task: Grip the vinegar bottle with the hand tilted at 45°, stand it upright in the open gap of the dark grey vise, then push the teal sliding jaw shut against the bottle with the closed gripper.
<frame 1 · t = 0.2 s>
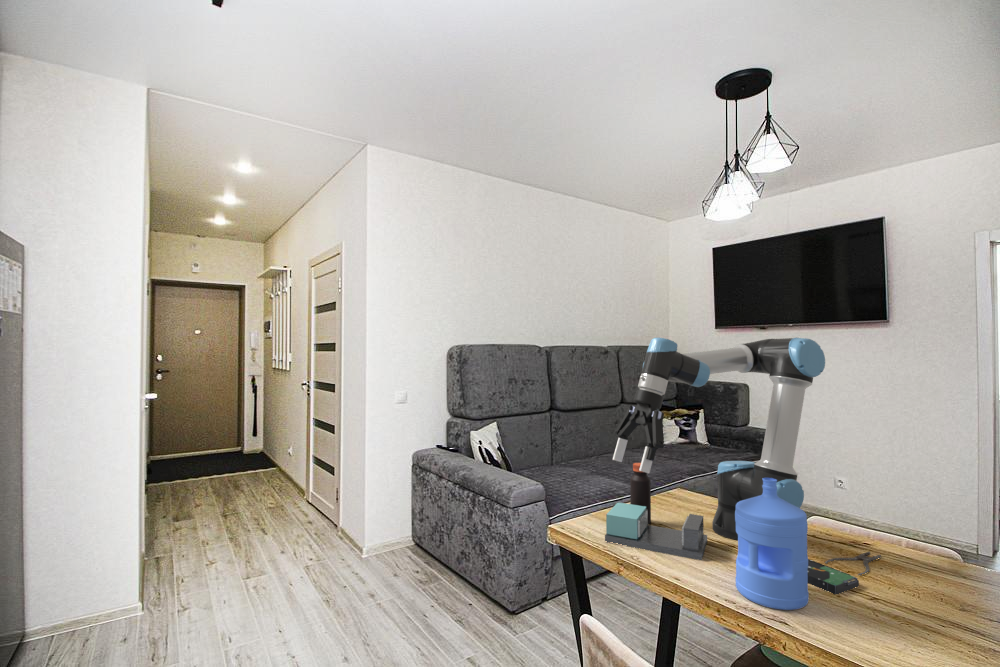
hand: (629, 466, 135), 28 cm above the table, tool tilted 20°, fingers open, 13 cm apart
water jug: (771, 595, 120), on the table
vinegar: (640, 523, 170), on the table
pliers: (852, 562, 140), on the table
sliding jaw: (627, 520, 158), point 5 cm above the table, slide at 0.0 cm
disk drive: (817, 581, 129), on the table
vise base: (656, 541, 153), on the table
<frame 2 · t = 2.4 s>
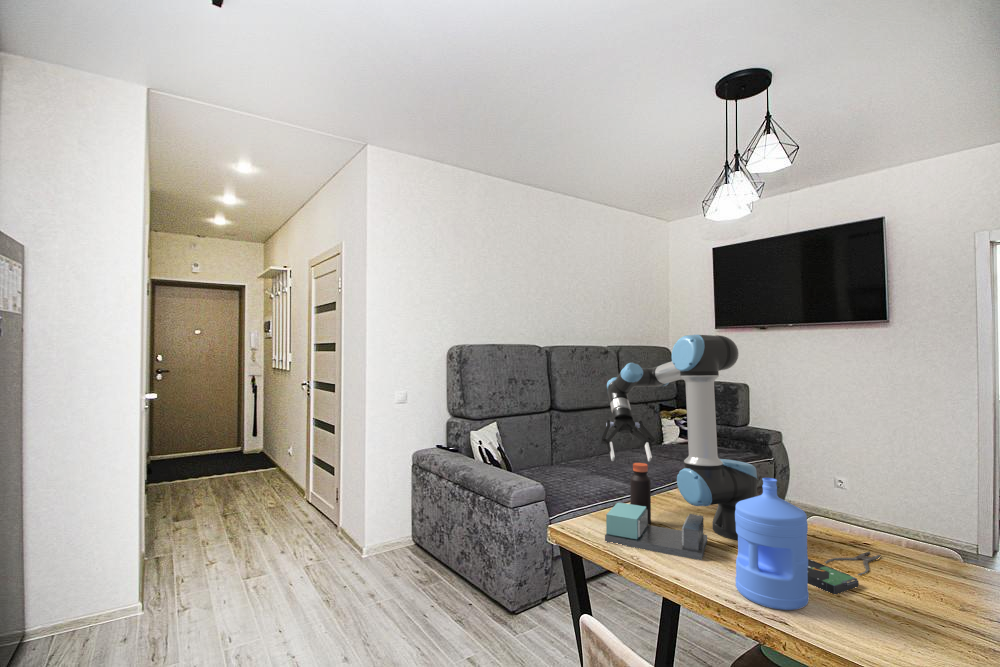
hand: (631, 459, 180), 20 cm above the table, tool tilted 45°, fingers open, 13 cm apart
nothing on the table moved.
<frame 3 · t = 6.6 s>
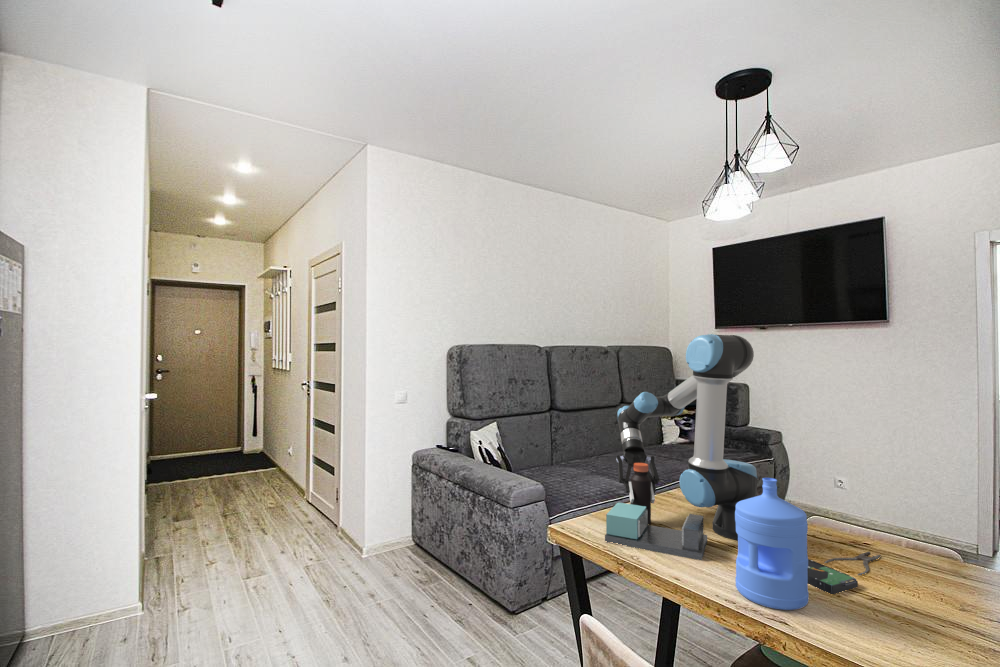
hand: (642, 501, 167), 8 cm above the table, tool tilted 45°, fingers closed on vinegar, 6 cm apart
vinegar: (640, 523, 170), on the table, touching gripper
everything else where it was.
when the fingers open (12 cm above the table, at t = 12.5 s): vinegar drops 2 cm, resting on vise base.
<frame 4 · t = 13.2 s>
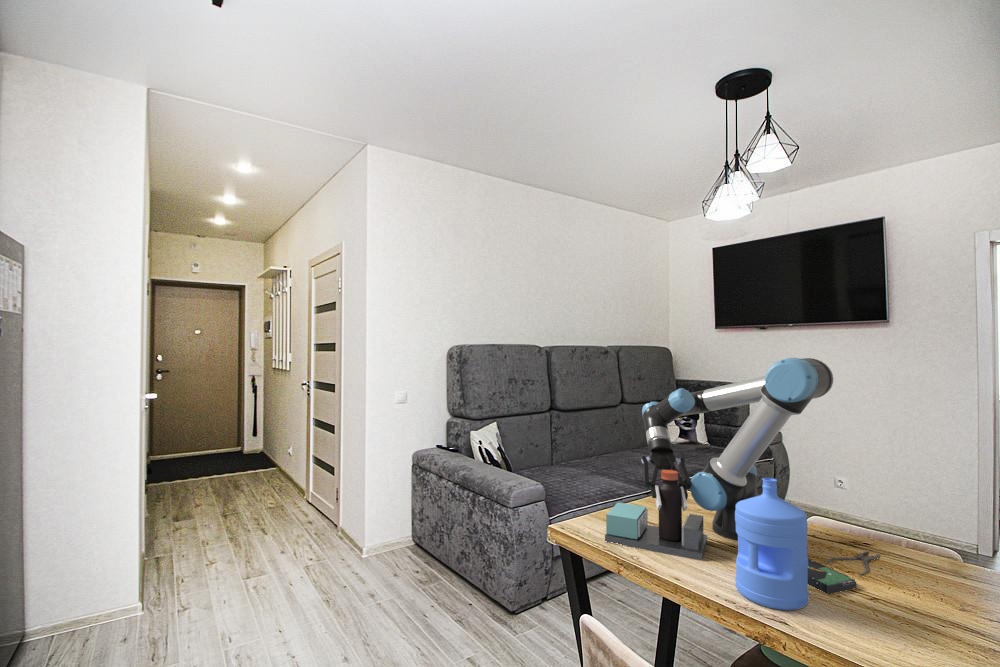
hand: (672, 507, 148), 12 cm above the table, tool tilted 45°, fingers open, 7 cm apart
vinegar: (670, 538, 151), point 2 cm above the table, touching vise base
everything else where it was.
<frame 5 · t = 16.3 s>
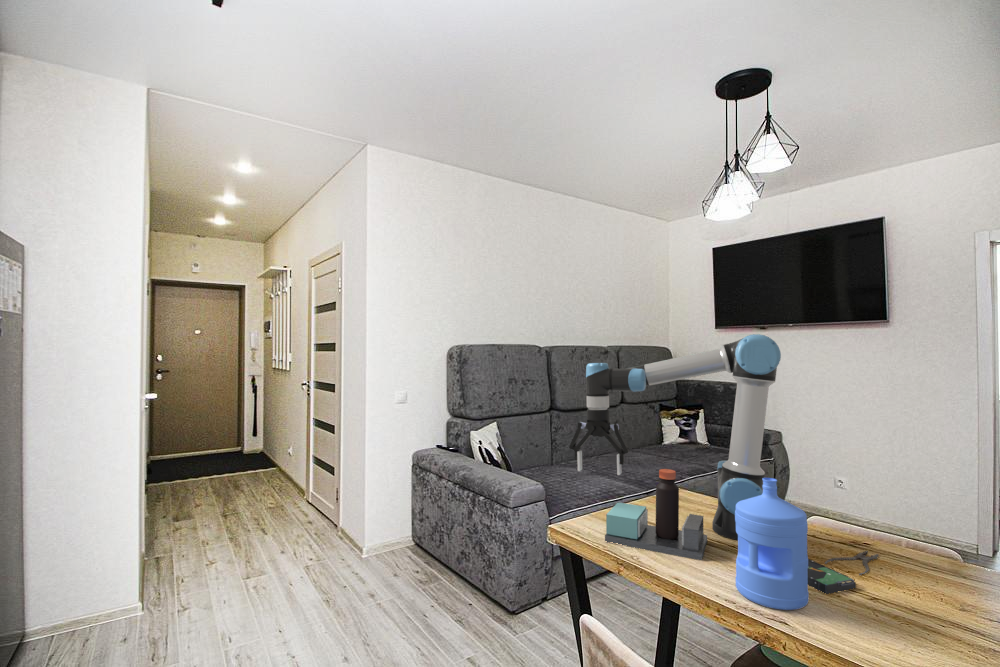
hand: (599, 472, 165), 19 cm above the table, tool pointing down, fingers open, 13 cm apart
vinegar: (667, 536, 153), point 2 cm above the table, touching vise base
everything else where it was.
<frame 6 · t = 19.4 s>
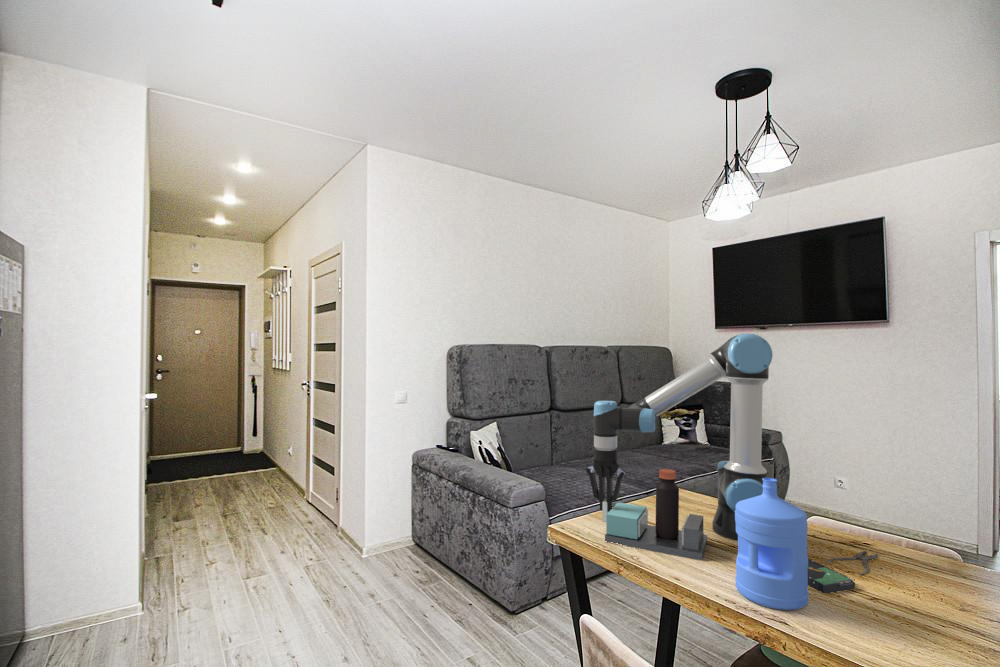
hand: (605, 520, 161), 4 cm above the table, tool pointing down, fingers closed
sliding jaw: (627, 520, 158), point 5 cm above the table, slide at 0.0 cm, touching gripper
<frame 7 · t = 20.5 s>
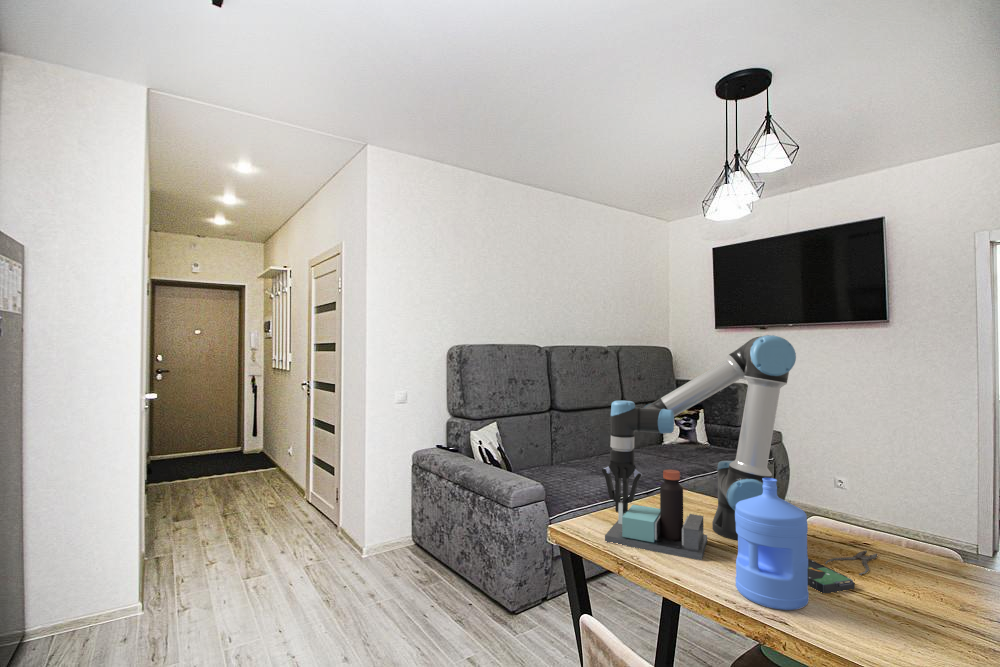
hand: (621, 522, 159), 4 cm above the table, tool pointing down, fingers closed
vinegar: (671, 536, 152), point 2 cm above the table, touching vise base
sliding jaw: (643, 522, 155), point 5 cm above the table, slide at 5.0 cm, touching gripper
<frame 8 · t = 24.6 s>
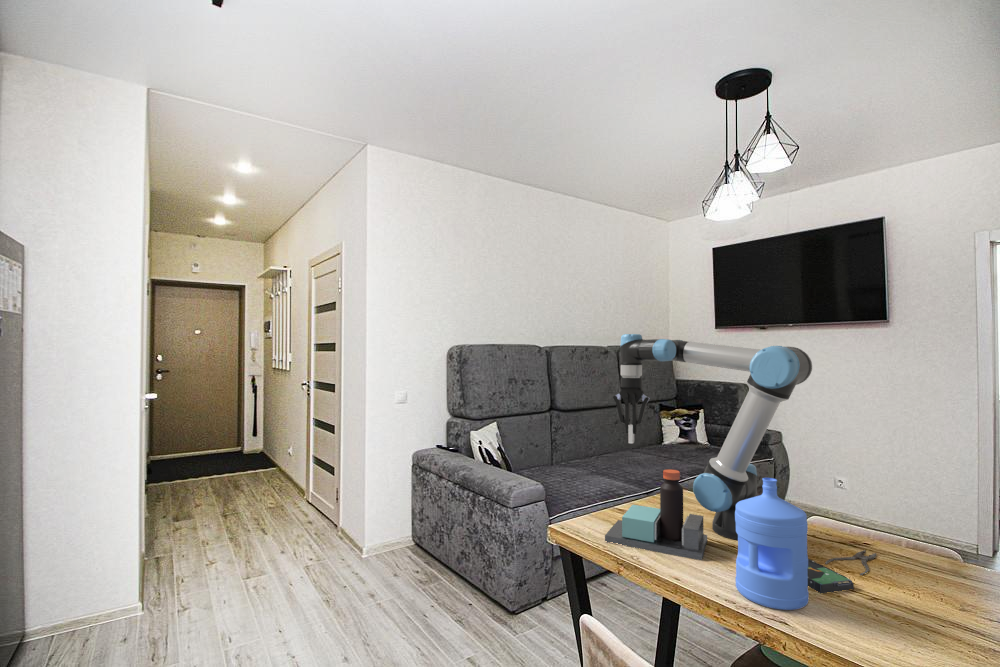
hand: (631, 442, 177), 26 cm above the table, tool pointing down, fingers closed
sliding jaw: (643, 522, 155), point 5 cm above the table, slide at 4.9 cm
at the end: vinegar 1.4 cm from the target spot, point 1.8 cm above the table; vinegar tilted 0°; sliding jaw slide at 4.9 cm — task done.
